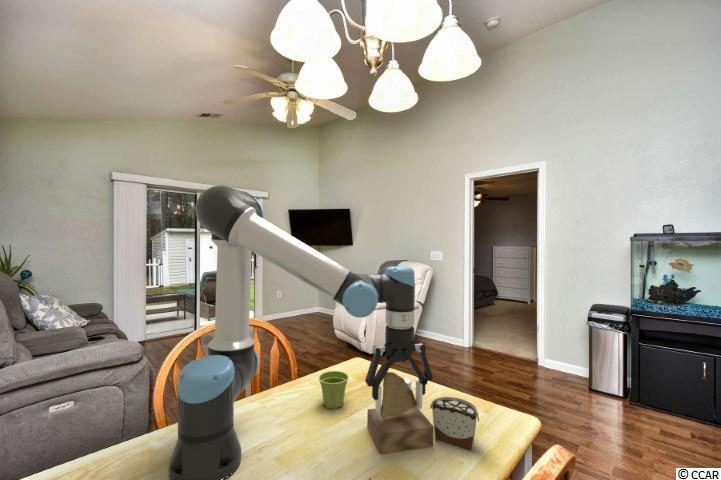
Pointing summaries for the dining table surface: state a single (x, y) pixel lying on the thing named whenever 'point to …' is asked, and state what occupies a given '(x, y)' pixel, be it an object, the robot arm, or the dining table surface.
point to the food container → (454, 422)
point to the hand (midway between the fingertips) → (398, 408)
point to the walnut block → (400, 431)
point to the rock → (396, 396)
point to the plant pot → (333, 388)
